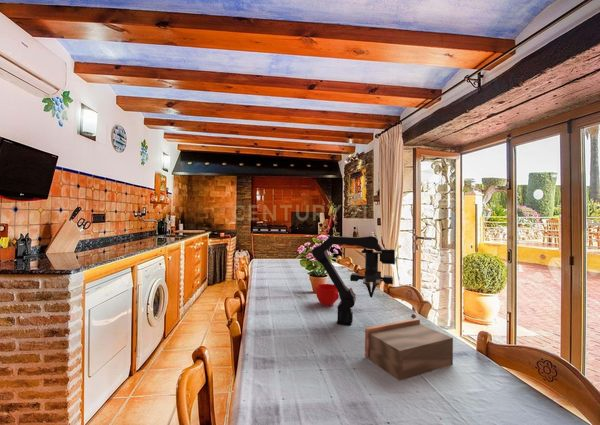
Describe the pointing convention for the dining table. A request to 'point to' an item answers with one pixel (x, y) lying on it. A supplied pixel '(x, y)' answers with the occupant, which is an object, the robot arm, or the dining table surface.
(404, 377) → the cabinet
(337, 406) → the dining table surface
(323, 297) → the ceramic cup
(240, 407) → the dining table surface
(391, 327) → the drawer
